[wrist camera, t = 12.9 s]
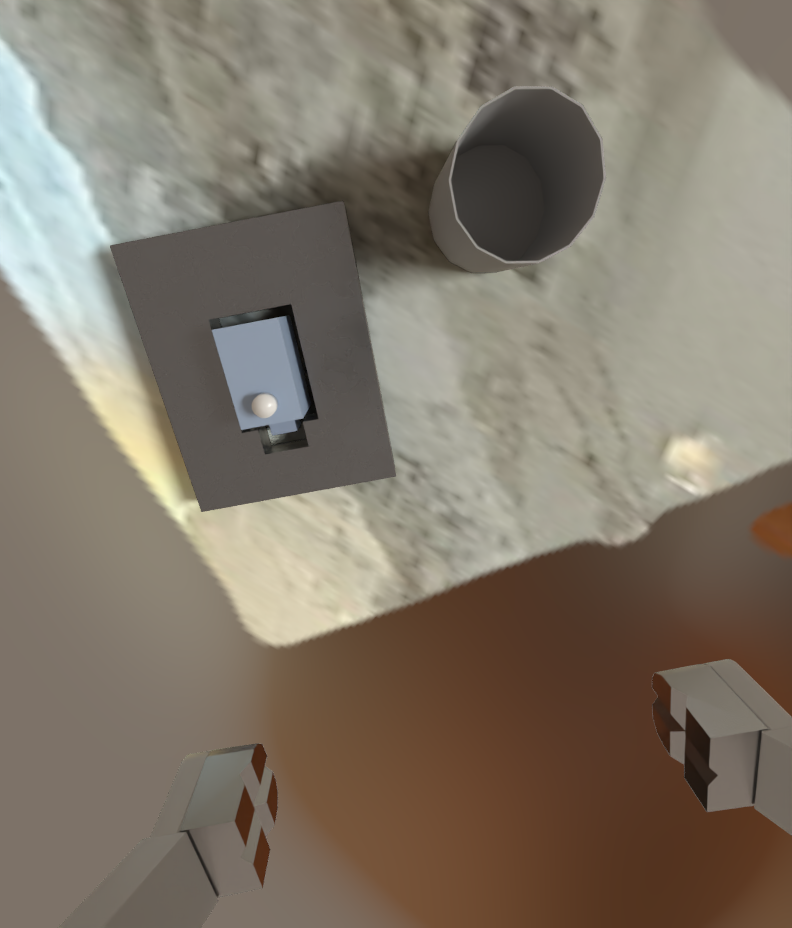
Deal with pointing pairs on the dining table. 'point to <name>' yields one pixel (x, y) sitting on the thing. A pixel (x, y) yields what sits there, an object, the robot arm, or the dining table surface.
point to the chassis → (248, 290)
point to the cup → (518, 181)
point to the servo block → (264, 374)
